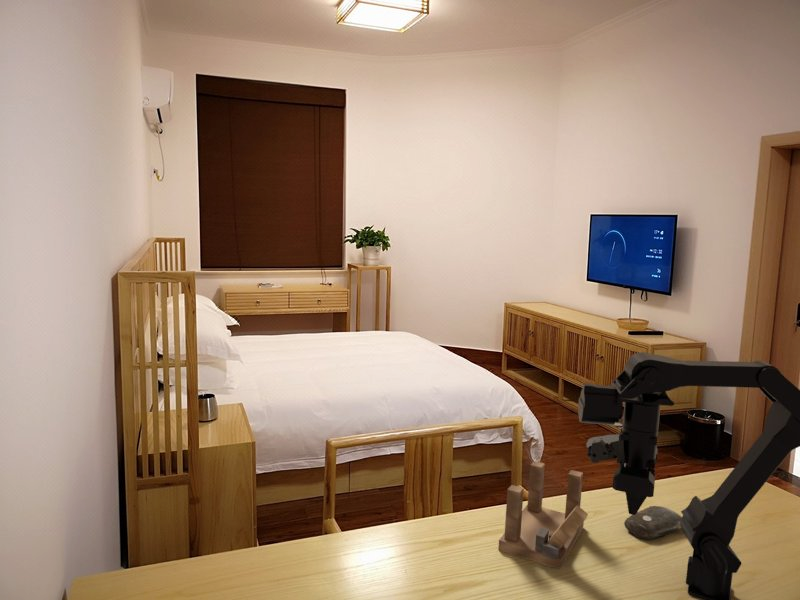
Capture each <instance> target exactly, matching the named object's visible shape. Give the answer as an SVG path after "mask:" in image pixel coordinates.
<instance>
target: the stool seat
mask: <svg viewBox="0 0 800 600" xmlns="http://www.w3.org/2000/svg"><path fill="white" fill-rule="evenodd" d="M545 466H546V465H545V463H544V462H540V461H535V460H533V462H531V463H530V465H529V479H528V495H527V504H526V506H525V507H524V508H523V502H524V501H523V500H524V489H525V488H524V487H522V486H518V485H515V484H514V485H513V484H511V485H510V486H509V487H508V488H507V489H506V491H507V493H506V504H505V505H506V507H505V508H506V509H505V524H504V525H505V526H504V532H503V534H502V536H500V538H499V540H498V549H497V550H498V551H502V552H504V553H507V554H510V555H513V556H518V557H520V558H523V559H526V560H530V561H533V562H536V563H538V564H542V565H545V566H548V567H551V568H554V569H557V570H561V569H562V567H563V565H564V564H565V562H566V560H567V558H568V557H569V555H570V553H571V551H572V549H573V547H574V545H575V543H576V542H577V541H578V538H579V536H580V535H581V533H582V531H583V529H584V526H585V521H584V522H583V523H582V524H581V525H580V527H579V528H578V529H577V530H576V531H575V532H574V534H573V535H572V536H571V537H570V538H569V539H568V541H567V542H566V543H565V544H564V545H563V547H562V548H561V549H560V550H559V547H557V546H554V545H550V544H547V542H548V540H549V539H550V537H551V536H552V535H553V534H554V532H555V531H556V530H557V529H558V528H559V526H560V525H561V524H562V523H563V522H564V520H565V519H566V518H567V517H568V516H569V514H570V513H571V512H572V511H573V510H574V508H575V507H576V506H577V505H578V506H579V507H580V508H581V503H582V502H581V500H582V488H583V475H584V473H583V472H581V471H577V470H573V469H571V470H570V471H569V472H568V474H567V484H566V485H567V487H566V496H565V497H566V498H565V499H566V500H565V501H566V502H565V513H564V512H560V511H557V510H553V509H549V508H547V507H543V495H544V479H545V477H544V476H545Z"/></svg>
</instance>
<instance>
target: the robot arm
mask: <svg viewBox="0 0 800 600" xmlns="http://www.w3.org/2000/svg"><path fill="white" fill-rule="evenodd" d="M685 387H710V388H711V387H716V388H718V387H719V388H753V389H755V388H758V389H759V390H760V392H762V394H763V395H764V396H765V397H766V398H767V399H768V400H769V401H770V402H771V403H772V404H771V405H770V407H769V409H768V411H767V413H766V418H765V422H764V427H763V430H762V432H761V434H759V436H758V437H757V439H756V440H755V441H754V442H753V444H752V445H751V447H750V448H749V449H748V450H747V451H746V453H745V454H744V455H743V457H742V458H741V459H740V461H739V462H737V464H736V465H735V466H734V468H733V469H732V471H731V472H730V473H729V474H728V475H727V477H726V478H725V479H724V481H723V482H722V483H721V484H720V485H719V487H718V488H717V489H716V491H715V492H714V493H713V494H712V495H711V496H709V497H706V498H704V499H701V498H700V497H698V496H697V495H695V496H693V498H692V499H691V501H690V502H689V504H688V505H687V506H686V508H684V509H682V510H681V511H680V512H681V515H682V516H681V517H682V518H681V521H680V523H681V529H682V530H681V531H682V533H683V534H684V535H685V538H686V539H687V541H688V543H689V544H690V546H691V547H692V555H690V556H688V560H687V567H686V577H685V578H686V579H685V585H687V593H688V595H691V596H695V597H698V598H701V599H705V600H731V598H732V597H731V596H732V594H731V593H732V582H733V574H736V573H738V571H739V570H740V567H741V566H742V564H743V563H742V561H741V560H740V558H739V557H738V555H737V554H736V553H735V551H734V550H733V548H732V547H731V546H730V544H731V542H732V540H733V538H734V536H735V533H736V528H737V524H738V518H739V517H740V515H741V514H742V512H743V511H744V510H745V509H746V507H747V506H748V505H749V504H750V503H751V501H752V500H753V498H755V496H756V495H757V494H758V492H759V491H760V490H761V489H762V488H763V486H764V485H765V484H766V483H767V482H768V480H769V479H770V478H771V476H772V475H773V474H774V473H775V471H776V470H777V469H778V468H779V467H780V465H782V463H783V462H784V460H785V459H786V458H787V457H788V455H789V454H790V453H791V452H792V451H794V450H795V449H797V448H799V447H800V388H798V387H797V386H795V384H793V382H792V381H790V380H789V379H787V378H786V376H785V375H783V374H782V373H781V371H780V370H779V369H778V368H777V367H776V366H774V365H772V364H771V363H768V362H766V361H765V360H764V361H763V360H755V361H728V360H727V361H726V360H724V361H723V360H721V361H719V360H718V361H717V360H716V361H715V360H711V361H710V360H682V359H676V358H672V357H669V356H664V355H661V354H655V353H649V352H643V351H641V352H636V353H633V354H632V355H631V356H629V358H628V359H627V361H626V363H625V365H624V369H623V370H622V371H621V372H620V373H619V374H618V375H617V376H616V378H614V380H612V381H611V384H610V385H604V384H603V385H602V384H594V383H590V382H583V383H582V388H581V391H580V396H579V397H578V409H577V412H578V413H577V414H578V421H579V423H583V424H584V423H585V424H594V425H595V424H597V425H606V426H608V425H609V426H610V425H611V426H614V425H615V424H617V423H619V422H620V420H622V427H621V428H620V432H619V433H617V434H606V435H600V436H594V437H590V438H588V439H587V442H586V444H585V446H586V450H587V453H586V456H587V457H588V458H589V460H590V462H591V463H592V464H593V463H595V464H597V463H599V462H602V461H609V460H614V459H615V460H616V463H617V464H618V465H619V466H618V468H616V469H614V474H613V479H612V489H613V490H615V491H618V492H622V493H625V496H626V498H625V499H626V505H627V510H628V514H629V515H636V513H637V512H639V511H640V508H641V507H642V505H643V504H644V502H645V501H646V499H647V498H652V497H654V495H655V484H656V483H655V481H656V477H655V476H656V469H655V467H656V464H657V462H658V461H657V460H658V453H659V451H658V450H659V449H658V447H657V446H658V438H659V437H658V435H659V428H660V427H659V425H660V415H661V406H667V407H668V406H669V407H673V406H674V405H675V401H673V399H672V398H671V397H669V396H668V393H667V392H669V391H672V390H673V391H674V390H676V389H678V388H685ZM623 405H624V407H623Z"/></svg>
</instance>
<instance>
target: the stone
mask: <svg viewBox="0 0 800 600" xmlns="http://www.w3.org/2000/svg"><path fill="white" fill-rule="evenodd" d="M681 518H682V516H681V515H680V514H679V513H677V512H676V511H674V510H672V509H671V508H667V507H664V506H659V505H651V506H648V507H646V508H644V509H642V510H638V512H637V513H636V515H632V514H630V516H629V517H627V518H626V519H625V520H624V522H623V523H624V524H623V525H624V527H625V529H627V531H628V532H630V533H631V534H632V535H633V536H636V537H637V538H639V539H643V540H651V539H656V538H660V537H662V536H664V535H668V534H672V533H675V532H676V533H677V532H679V531H682V529H681V523H680V521H681Z"/></svg>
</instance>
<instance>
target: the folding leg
mask: <svg viewBox="0 0 800 600" xmlns="http://www.w3.org/2000/svg"><path fill="white" fill-rule="evenodd" d="M588 515H589V513H588V512H586V511H585V510H584V509H583V508H581V506H580V507H579V506H578V505H577V506H576V507H575V508H574V510H573V511H572V512H571V513H570V514H569V516H568V517H567V518H566V519H565V520H564V522H563V523H562V524H561V525H560V526H559V528H558V529H557V530H556V531H555V532H554V534H553V535H552V536H551V537H550V539H549V540H548V542H547V544H550V545H554V546H557V547H559V550H560V549H561V548H562V547H563V545H564V544H565V543H566V542H567V541H568V539H569V538H570V537H571V536H572V535H573V534H574V532H575V531H576V530H577V529H578V528H579V527H580V525H581V524H582V523H583V522H584V523H585V521H586V519H587V518H588Z"/></svg>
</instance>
